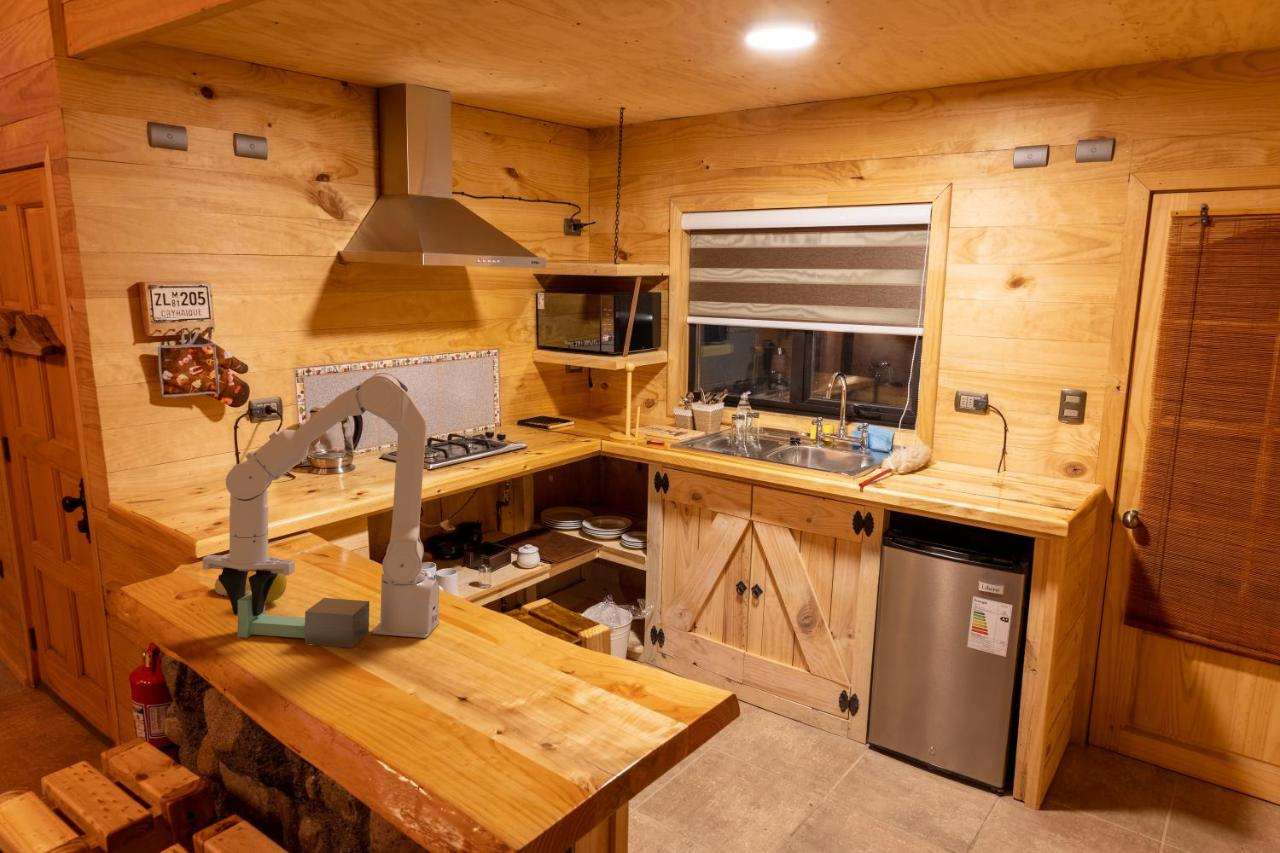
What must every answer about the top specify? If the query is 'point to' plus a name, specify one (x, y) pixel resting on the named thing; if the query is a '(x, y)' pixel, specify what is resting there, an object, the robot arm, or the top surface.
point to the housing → (337, 622)
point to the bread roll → (222, 591)
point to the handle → (267, 622)
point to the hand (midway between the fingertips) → (248, 613)
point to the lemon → (277, 588)
